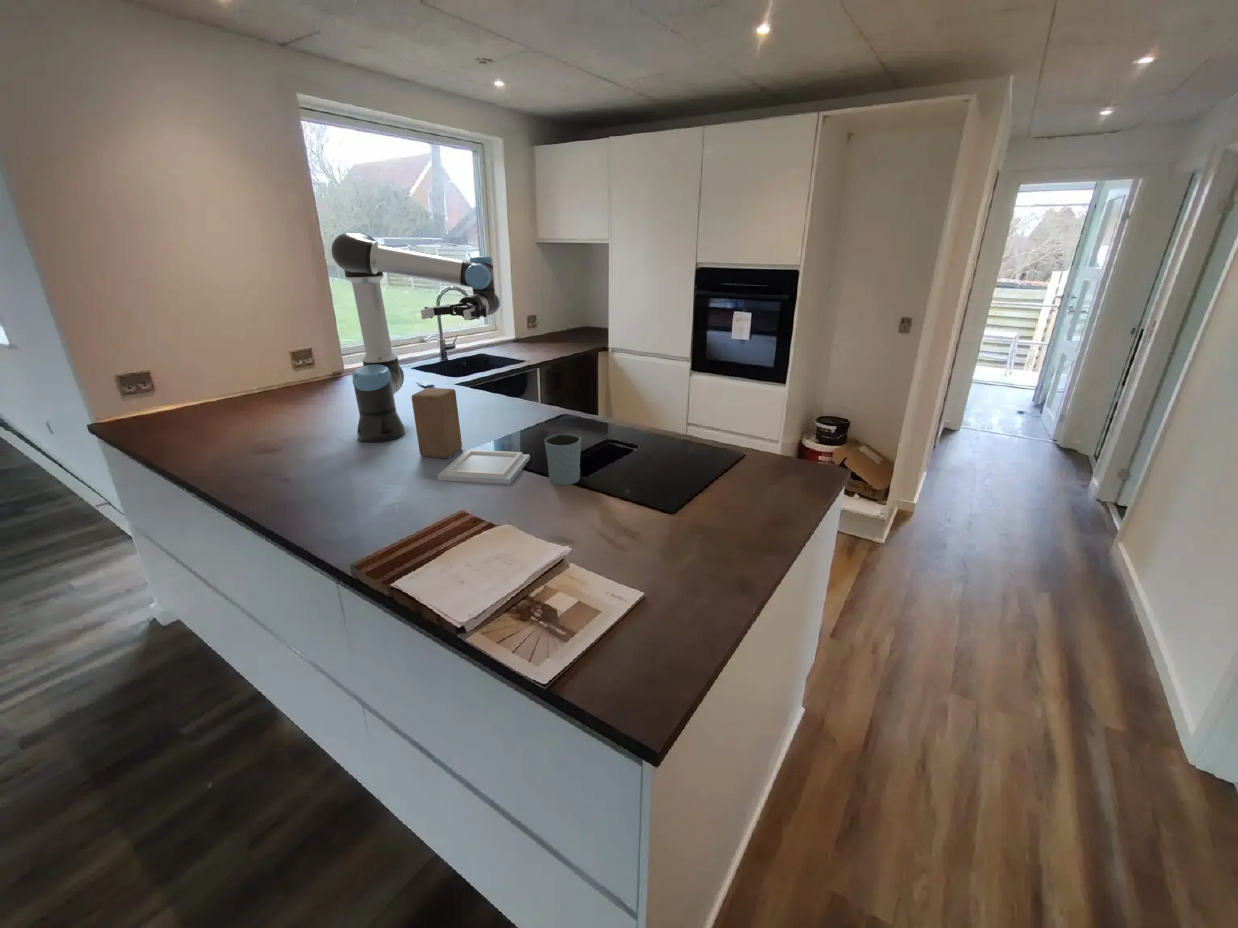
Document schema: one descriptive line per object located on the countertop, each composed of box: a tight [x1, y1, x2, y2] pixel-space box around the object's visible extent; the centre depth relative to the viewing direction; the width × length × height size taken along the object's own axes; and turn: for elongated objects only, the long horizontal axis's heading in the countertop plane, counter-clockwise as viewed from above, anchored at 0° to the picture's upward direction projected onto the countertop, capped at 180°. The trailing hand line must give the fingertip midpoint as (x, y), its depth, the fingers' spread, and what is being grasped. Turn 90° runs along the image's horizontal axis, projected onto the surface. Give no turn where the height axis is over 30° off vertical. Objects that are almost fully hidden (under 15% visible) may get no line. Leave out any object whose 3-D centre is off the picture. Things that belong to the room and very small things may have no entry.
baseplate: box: [437, 449, 531, 485], centre depth 159 cm, size 19×21×2 cm
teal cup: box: [544, 433, 582, 486], centre depth 151 cm, size 10×10×12 cm
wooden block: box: [411, 387, 463, 459], centre depth 169 cm, size 10×10×20 cm
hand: (443, 315), depth 161 cm, fingers open, 13 cm apart
